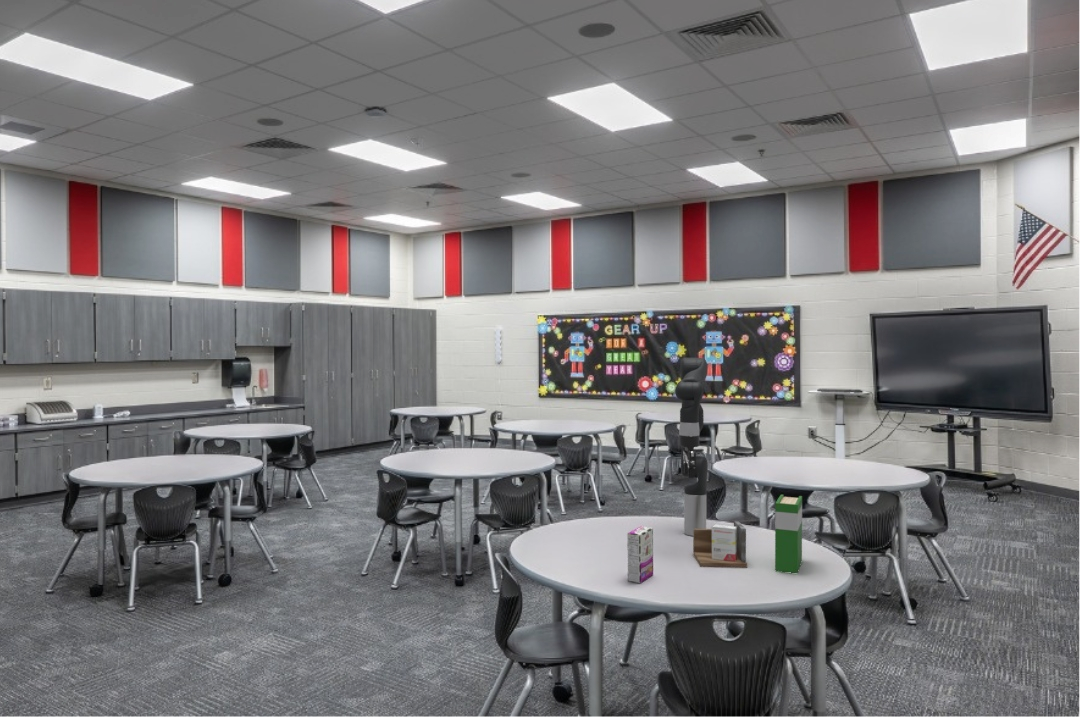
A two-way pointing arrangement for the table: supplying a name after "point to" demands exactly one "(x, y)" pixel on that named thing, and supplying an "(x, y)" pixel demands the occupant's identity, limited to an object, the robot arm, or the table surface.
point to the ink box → (724, 542)
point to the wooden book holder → (704, 548)
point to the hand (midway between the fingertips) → (689, 476)
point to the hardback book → (788, 534)
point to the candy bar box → (640, 554)
